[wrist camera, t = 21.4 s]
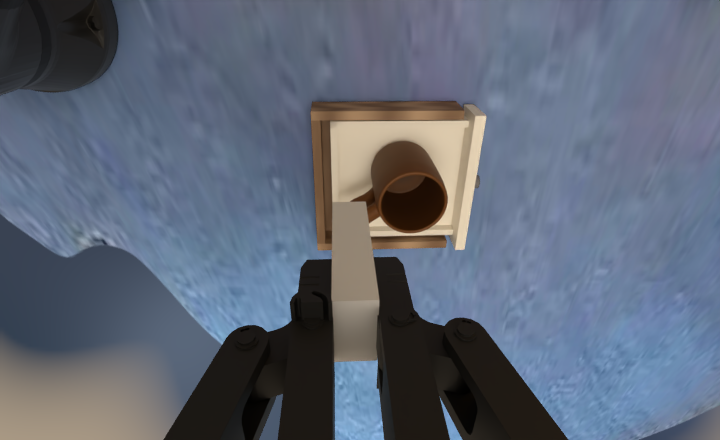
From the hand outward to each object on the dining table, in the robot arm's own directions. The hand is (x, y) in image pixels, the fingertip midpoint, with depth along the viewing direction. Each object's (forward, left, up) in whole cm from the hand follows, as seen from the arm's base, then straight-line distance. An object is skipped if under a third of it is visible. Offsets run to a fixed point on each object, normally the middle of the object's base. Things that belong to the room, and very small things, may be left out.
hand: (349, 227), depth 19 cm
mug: (+12, -3, -31) cm, 33 cm away
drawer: (+14, -1, -32) cm, 35 cm away
